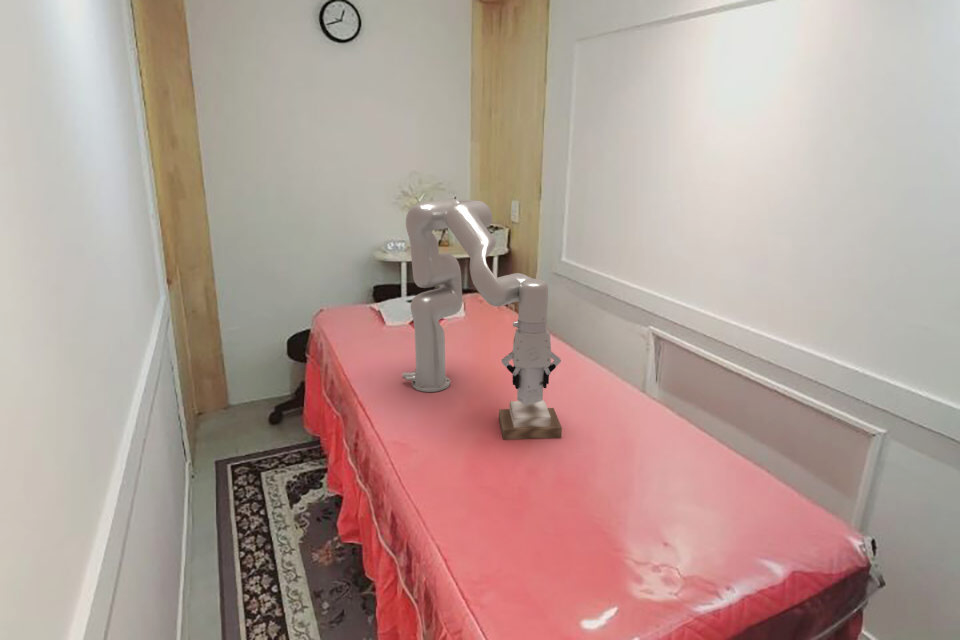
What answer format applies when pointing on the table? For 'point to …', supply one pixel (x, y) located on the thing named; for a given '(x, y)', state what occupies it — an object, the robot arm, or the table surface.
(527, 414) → the block stack
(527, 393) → the skincare box
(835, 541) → the table surface
